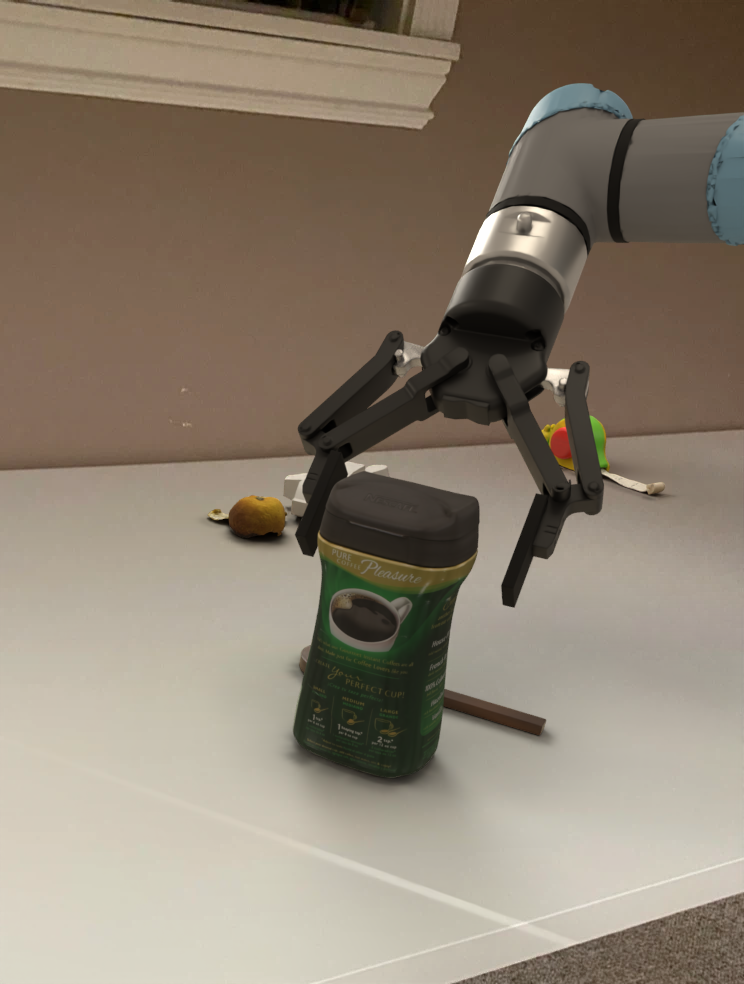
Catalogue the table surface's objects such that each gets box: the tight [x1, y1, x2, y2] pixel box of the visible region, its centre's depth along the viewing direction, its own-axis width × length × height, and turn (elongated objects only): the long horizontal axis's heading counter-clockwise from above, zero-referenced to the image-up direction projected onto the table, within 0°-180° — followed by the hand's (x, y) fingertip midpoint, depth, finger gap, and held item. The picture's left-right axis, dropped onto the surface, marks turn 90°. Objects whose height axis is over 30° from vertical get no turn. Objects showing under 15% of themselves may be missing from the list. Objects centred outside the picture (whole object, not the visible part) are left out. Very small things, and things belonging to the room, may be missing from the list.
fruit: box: [207, 494, 288, 539], centre depth 112 cm, size 8×8×4 cm
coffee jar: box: [292, 471, 481, 779], centre depth 71 cm, size 10×8×19 cm
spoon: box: [298, 644, 547, 736], centre depth 83 cm, size 19×5×1 cm, turn 61°
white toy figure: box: [282, 460, 391, 518], centre depth 120 cm, size 10×5×15 cm
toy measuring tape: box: [541, 415, 666, 495], centre depth 141 cm, size 6×20×7 cm, turn 34°
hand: (401, 571), depth 70 cm, fingers open, 13 cm apart
